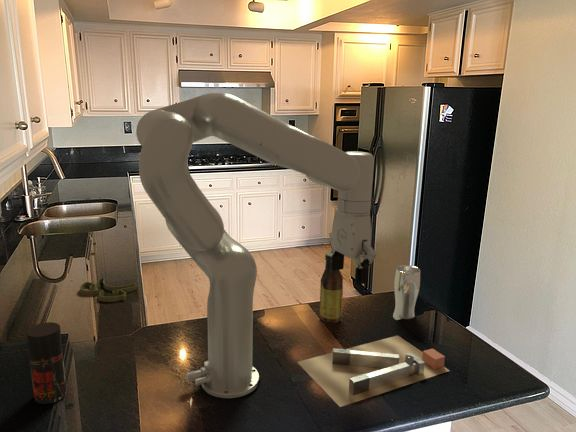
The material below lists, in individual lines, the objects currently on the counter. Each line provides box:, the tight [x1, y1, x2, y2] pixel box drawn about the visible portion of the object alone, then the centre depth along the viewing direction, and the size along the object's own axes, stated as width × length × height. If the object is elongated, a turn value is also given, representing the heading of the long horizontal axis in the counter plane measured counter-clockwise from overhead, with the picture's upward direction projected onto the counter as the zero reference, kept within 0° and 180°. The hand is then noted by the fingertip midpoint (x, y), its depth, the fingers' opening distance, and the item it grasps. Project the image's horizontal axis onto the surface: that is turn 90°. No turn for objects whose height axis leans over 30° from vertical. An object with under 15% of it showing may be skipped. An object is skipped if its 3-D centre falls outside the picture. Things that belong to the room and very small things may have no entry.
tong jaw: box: [332, 347, 399, 368], centre depth 107 cm, size 15×2×3 cm, turn 82°
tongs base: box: [349, 352, 425, 396], centre depth 102 cm, size 19×5×4 cm, turn 117°
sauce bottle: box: [319, 251, 344, 324], centre depth 130 cm, size 6×6×20 cm
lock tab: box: [422, 348, 446, 369], centre depth 109 cm, size 3×4×2 cm
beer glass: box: [392, 264, 421, 321], centre depth 133 cm, size 7×7×15 cm
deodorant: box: [25, 321, 67, 402], centre depth 94 cm, size 6×6×15 cm
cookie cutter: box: [79, 277, 139, 303], centre depth 146 cm, size 18×12×2 cm, turn 71°
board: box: [296, 335, 451, 408], centre depth 108 cm, size 30×18×1 cm, turn 117°
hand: (348, 276), depth 111 cm, fingers open, 9 cm apart
